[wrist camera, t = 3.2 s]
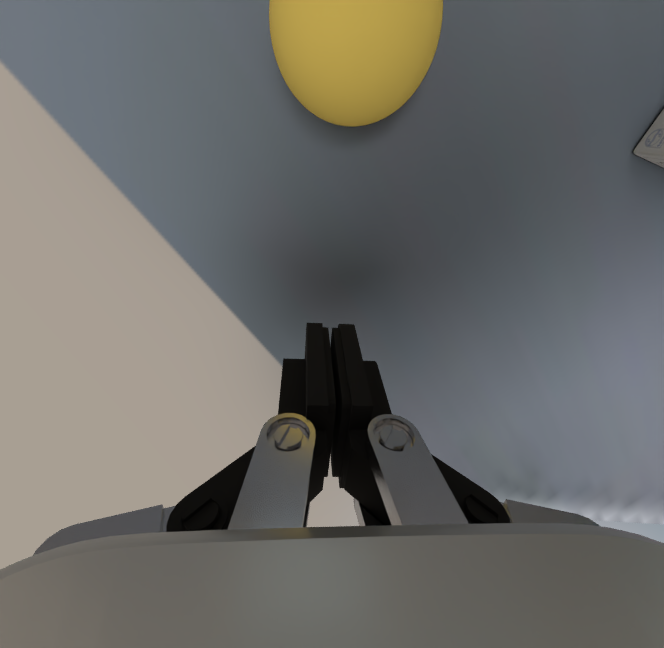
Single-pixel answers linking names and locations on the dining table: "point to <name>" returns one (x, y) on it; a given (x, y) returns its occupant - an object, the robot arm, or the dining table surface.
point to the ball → (354, 54)
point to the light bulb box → (653, 143)
